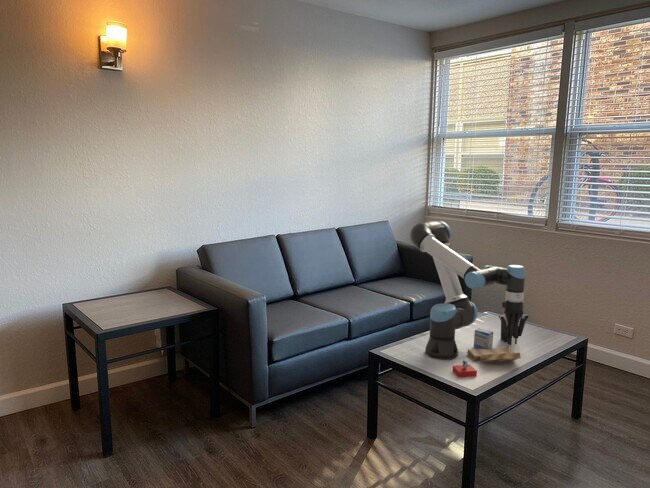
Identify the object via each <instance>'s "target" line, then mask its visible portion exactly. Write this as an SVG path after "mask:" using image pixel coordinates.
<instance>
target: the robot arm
mask: <svg viewBox="0 0 650 488" xmlns="http://www.w3.org/2000/svg"><path fill="white" fill-rule="evenodd" d="M409 236H410V237H409V238H410V241H411V243H412V245H414V246H415V248H417V249H418V250H419V251H421V252H422V253H425V252H426V253H427V254H429V255H430V256H431V257H432V259H433V263H434V265H435V269H436V271H437V274H438V278H439V280H440V284H441V286H442V290H443V293H444V296H445V301H444V302H443V303H441V302H440V303H436V304H434V305H433V306H432V307H431V308H430V312H429V313H430V314H429V338H428V340H427V344H426V345H425V351H424V353H425V354H426V356H427V357H430V358H432V359H435V360H436V359H437V360H454V359H456V358H457V357H458V356H459V349H458V345H457V342H456V337H455V336H456V330H458V329H463V328H465V327H468V326H470V325H472V324H473V323H475V321H476V320H477V317H478V308H477V306H476V305H475V303H474V302H473V301H471V300H470V299H469V297H468V295H466V294H464V291H463V290H462V289H463V288H462V286H461V282H460V280H459V276H460V277H461V278H462V279H463V280H464V283H465V284H466V285H465V286H467V287H468V288H469V289H471V290H476V289H481V288H484V287H487V286H491V285H496V284H497V285H503V286H505V300H504V301H505V311H504V314H503V315H502V314H501V315H500V314H499V315H498V318H499V320H500V326H501V325H502V330H503V335H504V336H506V337H507V342H506V344H507V345H508V348H509V349H508V350H509V351H510V352H514V353H516V352H515V350H516V349H515V348H516V347H515V346H516V345H517V342H518V339H519V337H522V335H523V331H524V329H525V325H526V321H527V320H528V319H529V315H527V314H526V313H524V311H523V310H524V298H525V297H524V296H525V285H526V284H525V282H526V281H525V280H526V269H525V267H524V266H523V265H521V264H509V265H507V266H506V268H505V267H501V266H496V265H495V266H494V265H487V264H486V265H484V266H483V267H482V268H481V269H480V268H478V266H475V265H474V264H473V263H471V262H470V261H468V260H467V259H465V258H464V257H463V256H461V255H460V254H458V253H457V252H456V251H454V250H453V249H451V248H449V247H450V245H451V242H450V240H451V236H452V230H451V228H450V226H449V224H447V223H446V222H444V221H443V220H431V221H425V222H423V221H422V222H418V223H416V224H415V225H413V226H412V228H411V230H410V233H409ZM505 317H506V318H507V321H508V327H507V325H506V321H505V319H506V318H505ZM512 332H513V336H512Z"/></svg>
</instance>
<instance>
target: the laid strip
mask: <svg viewBox="0 0 650 488" xmlns="http://www.w3.org/2000/svg"><path fill="white" fill-rule="evenodd" d="M508 349H509V347H494V348H493V347H492V348H489V349H481V348H476V349H475V348H473V349H471V348H470V349H467V355H468V356H469V357H470V359H472V361H474V362H480V356H482V355H486V354H504V353H515V352H510V351H509V350H508Z"/></svg>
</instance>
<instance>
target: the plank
mask: <svg viewBox="0 0 650 488" xmlns="http://www.w3.org/2000/svg"><path fill="white" fill-rule="evenodd" d="M521 357H522V356H521V352H514V353H504V354H486V355H482V356H480V361H479V362H495V361H510V360H511V361H514V360H518V359H521Z"/></svg>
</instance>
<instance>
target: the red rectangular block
mask: <svg viewBox="0 0 650 488" xmlns="http://www.w3.org/2000/svg"><path fill="white" fill-rule="evenodd" d="M452 373H454V375H456V376H457V378H459V377H460V378H461V379H462V378H473V377H477V376H478V375H477V374H478V370H477V369H476V368H475V367H473V366H472V365H471V364H470V363H469V362H468V361H467V360H462V364H457V365H452Z"/></svg>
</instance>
